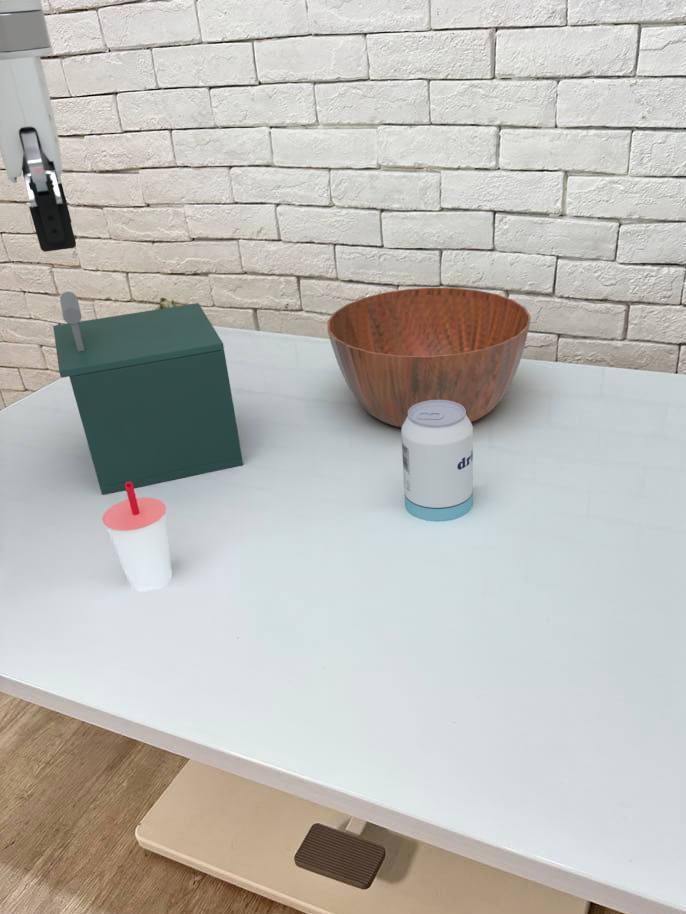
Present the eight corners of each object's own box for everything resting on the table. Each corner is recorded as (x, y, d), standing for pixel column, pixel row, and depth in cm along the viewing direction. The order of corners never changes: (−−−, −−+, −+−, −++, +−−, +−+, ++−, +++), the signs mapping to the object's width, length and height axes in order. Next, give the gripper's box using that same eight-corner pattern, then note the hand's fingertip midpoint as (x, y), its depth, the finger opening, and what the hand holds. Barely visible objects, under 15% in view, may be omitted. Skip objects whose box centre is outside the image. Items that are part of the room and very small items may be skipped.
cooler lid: (61, 378, 87) (45, 324, 84) (54, 332, 99) (41, 283, 96) (224, 349, 92) (215, 298, 89) (199, 309, 103) (191, 262, 100)
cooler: (102, 495, 95) (69, 377, 87) (91, 439, 107) (62, 331, 99) (243, 464, 99) (224, 350, 92) (218, 415, 111) (199, 309, 103)
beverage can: (466, 540, 84) (465, 430, 78) (398, 533, 86) (392, 425, 79) (477, 504, 90) (478, 399, 83) (414, 498, 91) (409, 394, 85)
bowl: (427, 470, 96) (424, 375, 90) (296, 407, 112) (285, 322, 106) (567, 402, 110) (573, 315, 104) (433, 354, 126) (431, 276, 119)
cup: (185, 607, 77) (158, 492, 70) (124, 617, 76) (91, 503, 70) (184, 573, 81) (158, 463, 75) (126, 583, 81) (95, 472, 74)
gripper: (-37, 36, 81) (18, 223, 90) (-48, 46, 67) (17, 265, 77) (46, 30, 83) (91, 214, 92) (51, 39, 69) (103, 253, 79)
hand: (57, 237), depth 85 cm, fingers open, 9 cm apart
